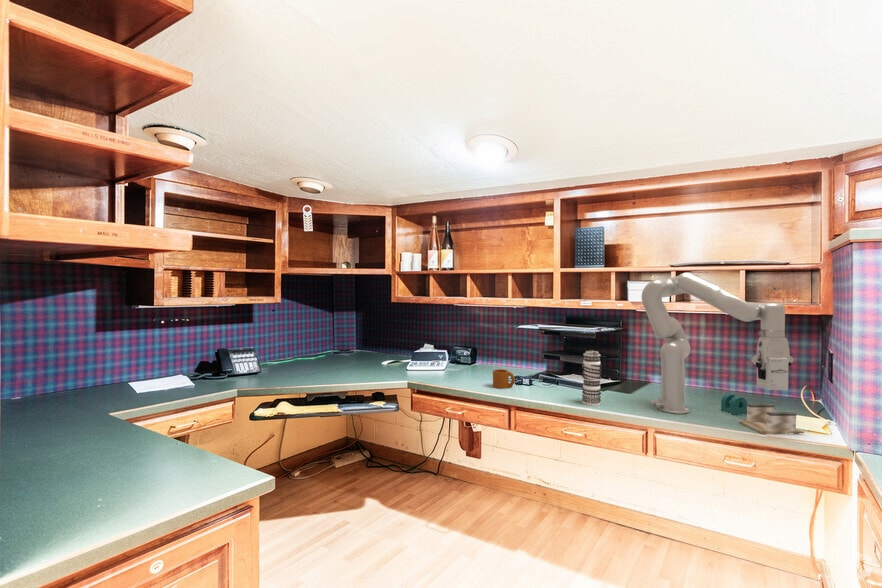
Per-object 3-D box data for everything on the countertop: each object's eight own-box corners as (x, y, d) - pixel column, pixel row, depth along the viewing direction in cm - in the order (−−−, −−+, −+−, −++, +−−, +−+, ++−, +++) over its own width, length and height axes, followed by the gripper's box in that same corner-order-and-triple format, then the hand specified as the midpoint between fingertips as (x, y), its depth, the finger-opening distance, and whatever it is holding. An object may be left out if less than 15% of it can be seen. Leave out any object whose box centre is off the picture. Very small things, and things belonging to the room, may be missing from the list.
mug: (511, 390, 231) (511, 373, 230) (490, 388, 236) (490, 371, 236) (516, 386, 239) (516, 370, 238) (495, 384, 244) (495, 368, 244)
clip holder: (762, 433, 164) (762, 413, 164) (738, 422, 177) (739, 404, 177) (804, 434, 164) (804, 413, 164) (777, 422, 177) (778, 404, 177)
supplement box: (769, 390, 166) (769, 358, 166) (756, 386, 174) (756, 355, 174) (789, 390, 166) (789, 358, 166) (775, 386, 174) (775, 354, 173)
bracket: (733, 415, 187) (733, 397, 187) (721, 411, 194) (721, 393, 194) (769, 413, 190) (769, 395, 190) (755, 409, 197) (756, 392, 196)
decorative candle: (603, 402, 208) (604, 350, 207) (599, 406, 200) (599, 353, 199) (584, 399, 212) (584, 349, 212) (579, 403, 205) (579, 351, 204)
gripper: (757, 335, 166) (757, 381, 166) (802, 335, 166) (802, 380, 166) (743, 333, 173) (743, 377, 174) (787, 333, 173) (786, 376, 174)
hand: (772, 378), depth 170 cm, fingers closed on supplement box, 7 cm apart
